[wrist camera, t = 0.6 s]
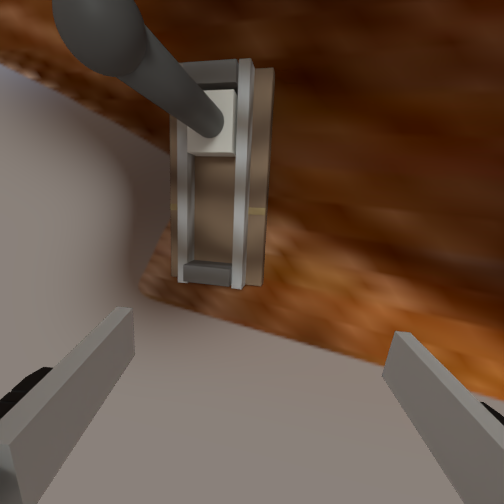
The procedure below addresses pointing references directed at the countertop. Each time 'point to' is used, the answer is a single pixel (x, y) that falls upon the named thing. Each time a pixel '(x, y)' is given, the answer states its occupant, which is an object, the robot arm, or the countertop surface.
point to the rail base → (223, 184)
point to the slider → (147, 69)
